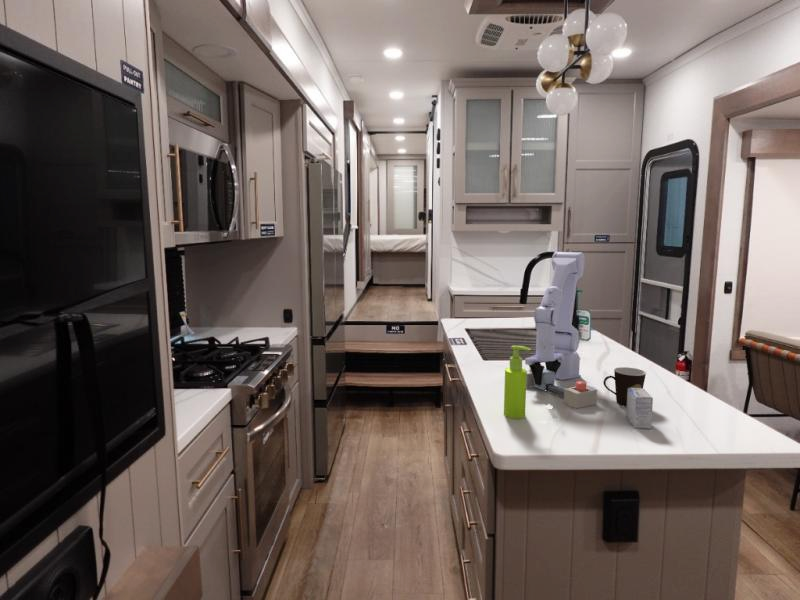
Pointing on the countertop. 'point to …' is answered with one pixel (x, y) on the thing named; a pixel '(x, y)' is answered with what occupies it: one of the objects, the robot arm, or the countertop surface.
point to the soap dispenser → (515, 386)
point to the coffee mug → (626, 382)
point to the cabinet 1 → (529, 378)
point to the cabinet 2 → (580, 397)
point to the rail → (555, 390)
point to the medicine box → (639, 408)
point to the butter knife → (552, 412)
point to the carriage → (546, 379)
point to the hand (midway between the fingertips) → (543, 383)
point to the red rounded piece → (580, 386)
